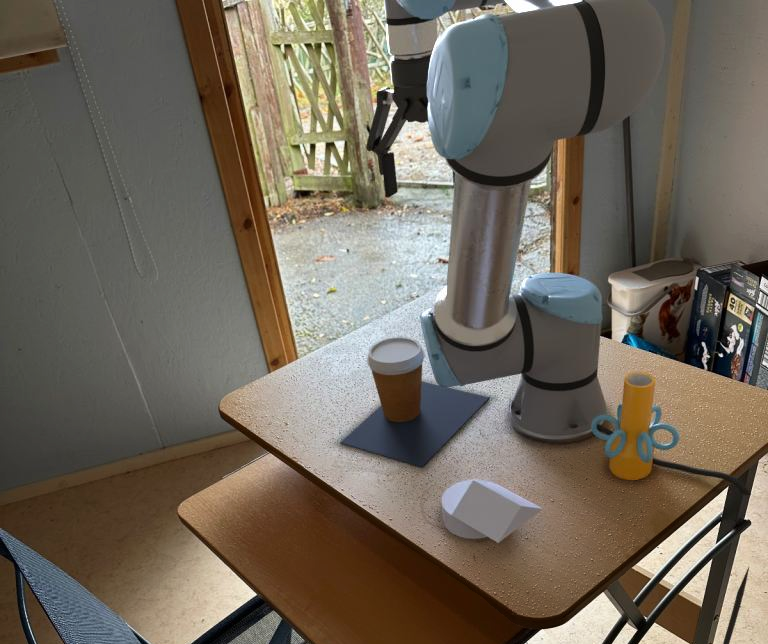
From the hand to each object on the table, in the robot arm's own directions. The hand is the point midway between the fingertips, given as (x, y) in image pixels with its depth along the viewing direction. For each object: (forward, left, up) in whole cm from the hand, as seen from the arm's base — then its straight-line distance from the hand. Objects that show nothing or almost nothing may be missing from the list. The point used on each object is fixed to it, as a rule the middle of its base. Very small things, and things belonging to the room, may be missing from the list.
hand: (425, 198), depth 130 cm
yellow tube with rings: (-45, +20, -29) cm, 57 cm away
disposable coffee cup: (-6, +21, -29) cm, 36 cm away
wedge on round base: (-32, +40, -29) cm, 59 cm away
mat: (-9, +22, -29) cm, 37 cm away
